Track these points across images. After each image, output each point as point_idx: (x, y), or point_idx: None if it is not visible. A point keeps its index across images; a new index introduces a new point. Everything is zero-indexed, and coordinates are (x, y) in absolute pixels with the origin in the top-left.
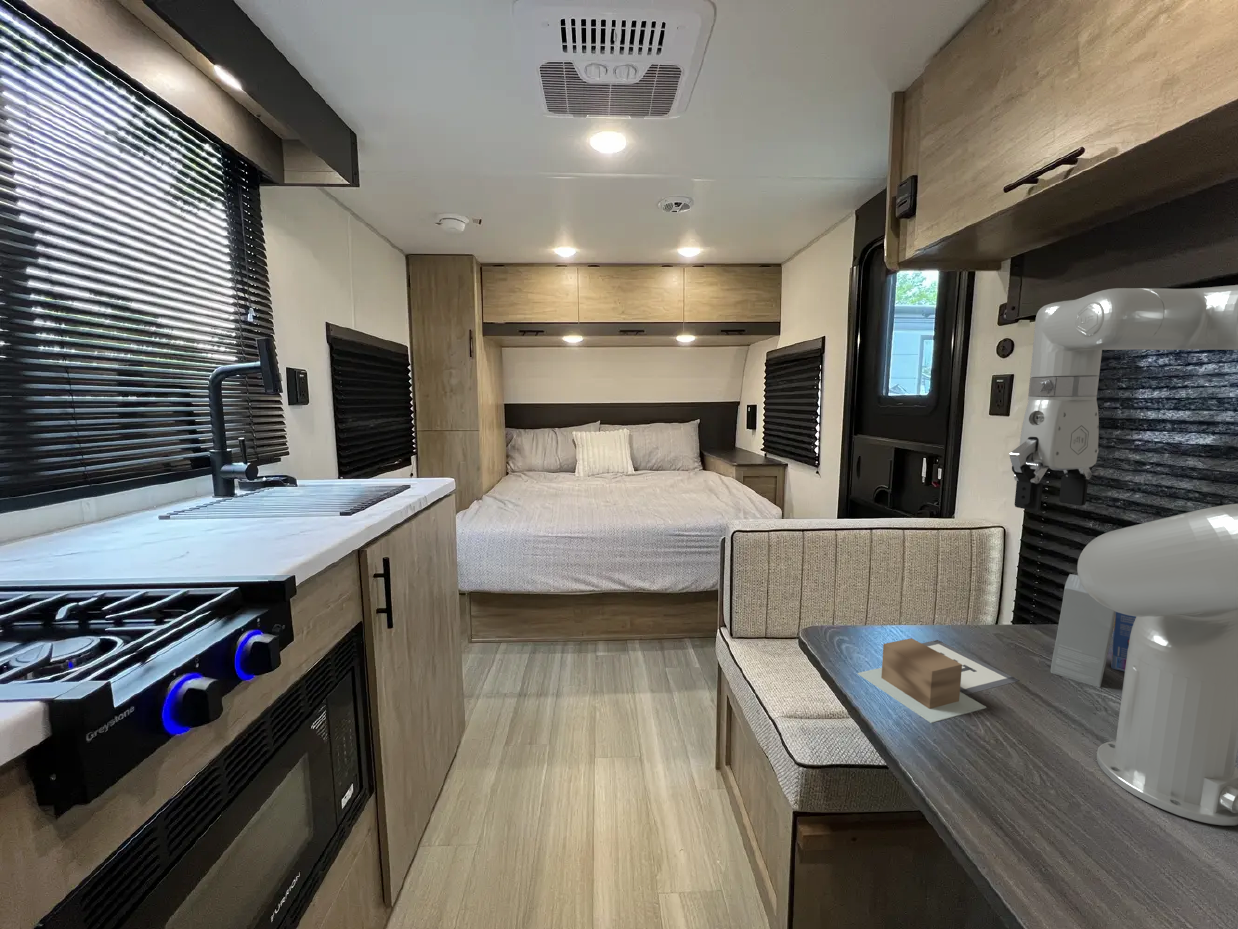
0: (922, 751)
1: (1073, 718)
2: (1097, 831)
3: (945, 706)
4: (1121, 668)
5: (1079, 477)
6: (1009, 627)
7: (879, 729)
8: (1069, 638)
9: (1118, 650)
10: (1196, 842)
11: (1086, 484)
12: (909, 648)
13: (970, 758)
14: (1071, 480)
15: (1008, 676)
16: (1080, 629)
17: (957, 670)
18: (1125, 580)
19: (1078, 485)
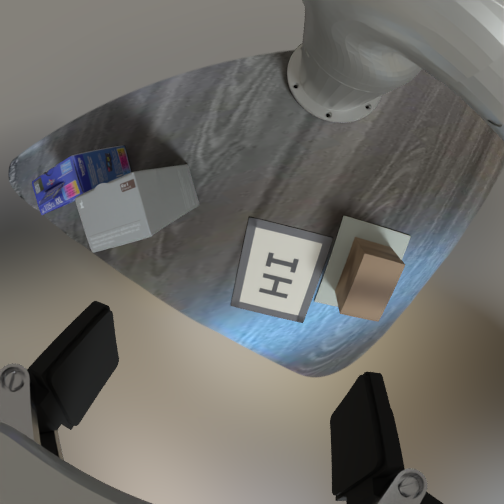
0: (449, 222)
1: (285, 155)
2: (440, 109)
3: (375, 240)
4: (128, 168)
5: (46, 397)
6: (128, 272)
7: (444, 257)
8: (179, 202)
9: (118, 175)
10: None
11: (49, 356)
12: (369, 302)
13: (432, 194)
14: (69, 404)
15: (250, 227)
16: (170, 196)
17: (369, 252)
18: None
19: (70, 373)
